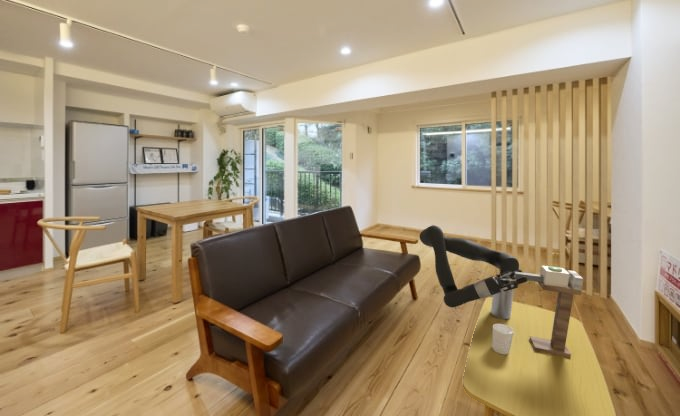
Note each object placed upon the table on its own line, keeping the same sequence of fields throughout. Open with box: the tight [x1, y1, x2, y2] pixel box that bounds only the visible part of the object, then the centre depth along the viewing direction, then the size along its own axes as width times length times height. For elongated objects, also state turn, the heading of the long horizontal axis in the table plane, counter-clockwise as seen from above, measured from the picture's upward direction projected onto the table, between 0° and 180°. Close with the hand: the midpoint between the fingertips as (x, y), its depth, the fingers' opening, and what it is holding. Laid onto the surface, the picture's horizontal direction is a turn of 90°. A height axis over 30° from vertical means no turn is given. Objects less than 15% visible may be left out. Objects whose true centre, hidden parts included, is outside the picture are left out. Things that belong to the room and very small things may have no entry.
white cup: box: [491, 323, 515, 355], centre depth 130 cm, size 8×8×10 cm
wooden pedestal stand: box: [529, 269, 584, 358], centre depth 129 cm, size 9×13×35 cm
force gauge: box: [514, 265, 569, 288], centre depth 129 cm, size 7×18×6 cm, turn 71°
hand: (524, 275), depth 131 cm, fingers open, 8 cm apart
